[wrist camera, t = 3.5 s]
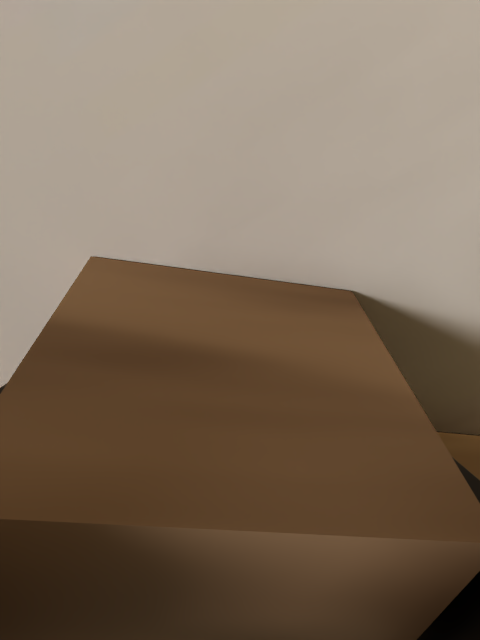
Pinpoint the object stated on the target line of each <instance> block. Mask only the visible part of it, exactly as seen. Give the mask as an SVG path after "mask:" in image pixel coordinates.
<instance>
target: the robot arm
mask: <svg viewBox="0 0 480 640" xmlns="http://www.w3.org/2000/svg"><path fill="white" fill-rule="evenodd" d="M6 385H7V384H5V385H4V386H2V387H1V388H0V394H1V392H2V391H3V389H4V388H5V386H6ZM452 458H453V457H452ZM453 460H454V461H455V463H456V465H457V466H458V468H459V470H460V471H461V473H462V475H463V476H464V478H465V480H466V481H467V483H468V485H469V486H470V488H471V490H472V491H473V493H474V495H475V496H476V498H477V500H478V501H479V503H480V480H479V479H478V478H477V477H476V476H474V475H473V474H472V473H471V472H470V471H468V470H467V469H466V468H465V467H464V466H462V465H461V464H460V463H459V462H458V461H457V460H455V459H454V458H453ZM417 640H480V571H479V572H478V573H477V574H476V575H475V577H474V578H473V579H472V580H471V581H470V582H469V583H468V584H467V585H466V586H465V587H464V589H463V590H462V591H461V592H460V593H459V594H458V595H457V596H456V597H455V598H454V599H453V601H452V602H451V603H450V604H449V605H448V606H447V607H446V608H445V609H444V610H443V611H442V613H441V614H440V615H439V616H438V617H437V618H436V619H435V620H434V621H433V622H432V624H431V625H430V626H429V627H428V628H427V629H426V630H425V631H424V632H423V633H422V634H421V636H420V637H419V638H418V639H417Z"/></svg>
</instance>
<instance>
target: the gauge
mask: <svg viewBox="0 0 480 640" xmlns="http://www.w3.org/2000/svg"><path fill="white" fill-rule="evenodd" d="M479 571H480V503H479V501H478V500H477V498H476V496H475V495H474V493H473V491H472V490H471V488H470V486H469V485H468V483H467V481H466V480H465V478H464V476H463V475H462V473H461V471H460V470H459V468H458V466H457V465H456V463H455V461H454V460H453V458H452V456H451V455H450V453H449V451H448V450H447V448H446V446H445V445H444V443H443V442H442V440H441V438H440V437H439V435H438V433H437V432H436V430H435V428H434V427H433V425H432V423H431V422H430V420H429V418H428V417H427V415H426V413H425V412H424V410H423V408H422V407H421V405H420V403H419V402H418V400H417V398H416V397H415V395H414V393H413V392H412V390H411V388H410V387H409V385H408V383H407V382H406V380H405V378H404V377H403V375H402V373H401V372H400V370H399V368H398V367H397V365H396V363H395V362H394V360H393V358H392V357H391V355H390V353H389V352H388V350H387V348H386V347H385V345H384V344H383V342H382V340H381V339H380V337H379V335H378V334H377V332H376V330H375V329H374V327H373V325H372V324H371V322H370V320H369V319H368V317H367V315H366V314H365V312H364V310H363V309H362V307H361V305H360V304H359V302H358V300H357V299H356V297H355V295H354V294H353V292H352V291H346V290H338V289H331V288H323V287H316V286H308V285H301V284H293V283H286V282H278V281H271V280H263V279H256V278H248V277H241V276H233V275H226V274H218V273H211V272H203V271H196V270H188V269H181V268H173V267H166V266H158V265H151V264H143V263H136V262H128V261H121V260H113V259H106V258H98V257H90V259H89V260H88V262H87V263H86V265H85V266H84V268H83V269H82V271H81V272H80V274H79V275H78V277H77V279H76V280H75V282H74V283H73V285H72V286H71V288H70V289H69V291H68V292H67V294H66V295H65V297H64V298H63V300H62V301H61V303H60V304H59V306H58V307H57V309H56V310H55V312H54V313H53V315H52V316H51V318H50V319H49V321H48V322H47V324H46V326H45V327H44V329H43V330H42V332H41V333H40V335H39V336H38V338H37V339H36V341H35V342H34V344H33V345H32V347H31V348H30V350H29V351H28V353H27V354H26V356H25V357H24V359H23V360H22V362H21V363H20V365H19V366H18V368H17V369H16V371H15V373H14V374H13V376H12V377H11V379H10V380H9V382H8V383H7V385H6V386H5V388H4V389H3V391H2V392H1V394H0V640H417V639H418V638H419V637H420V636H421V634H422V633H423V632H424V631H425V630H426V629H427V628H428V627H429V626H430V625H431V624H432V622H433V621H434V620H435V619H436V618H437V617H438V616H439V615H440V614H441V613H442V611H443V610H444V609H445V608H446V607H447V606H448V605H449V604H450V603H451V602H452V601H453V599H454V598H455V597H456V596H457V595H458V594H459V593H460V592H461V591H462V590H463V589H464V587H465V586H466V585H467V584H468V583H469V582H470V581H471V580H472V579H473V578H474V577H475V575H476V574H477V573H478V572H479Z"/></svg>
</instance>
